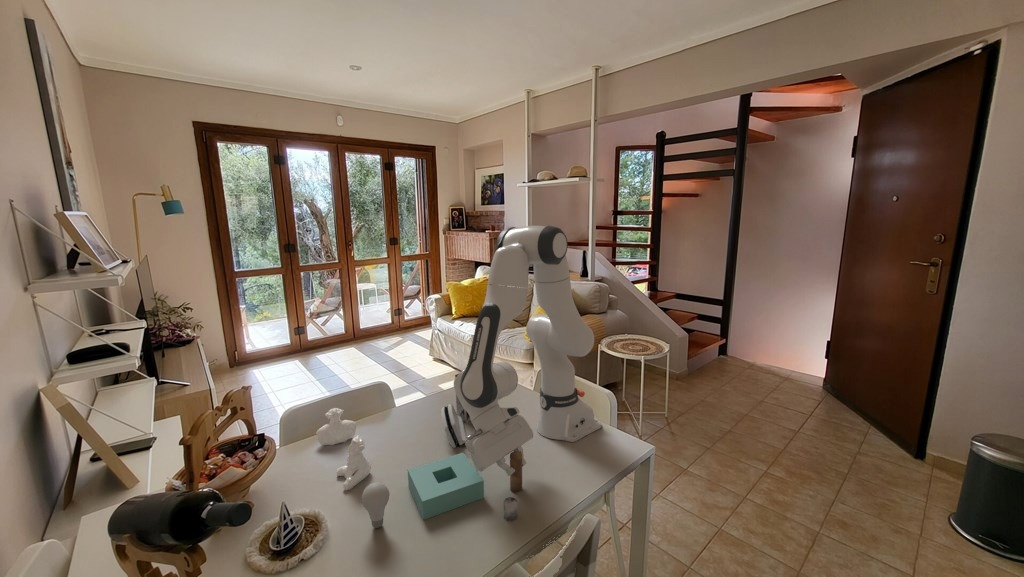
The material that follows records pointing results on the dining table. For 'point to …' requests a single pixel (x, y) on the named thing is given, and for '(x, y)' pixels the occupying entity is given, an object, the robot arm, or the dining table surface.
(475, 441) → the robot arm
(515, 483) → the tall walnut pin
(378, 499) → the lightbulb
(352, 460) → the white creature statuette
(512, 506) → the short metal pin
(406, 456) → the dining table surface
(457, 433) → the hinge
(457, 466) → the hole block
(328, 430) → the bust
